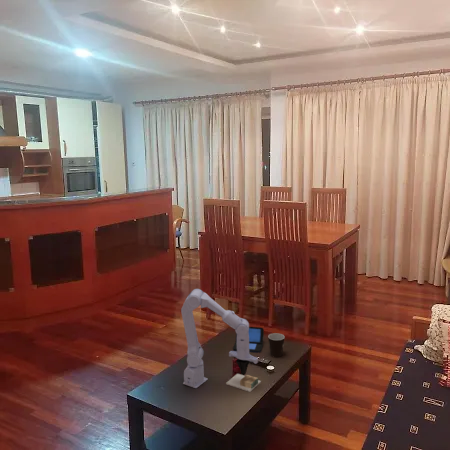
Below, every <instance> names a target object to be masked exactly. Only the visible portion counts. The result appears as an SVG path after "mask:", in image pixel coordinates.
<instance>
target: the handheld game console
mask: <svg viewBox="0 0 450 450" xmlns="http://www.w3.org/2000/svg"><path fill="white" fill-rule="evenodd" d="M264 330H265V329H264V327H260V326H258V327H257V326H249V332H248V333H249V353H258V352H259V353H261V352H262V349H263V347H264V333H265V331H264ZM232 351H235V352H237V333H236V332H235V342H234V344H233V347H232Z"/></svg>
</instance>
